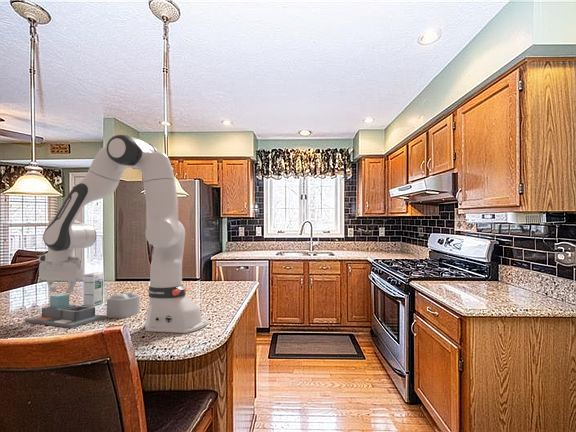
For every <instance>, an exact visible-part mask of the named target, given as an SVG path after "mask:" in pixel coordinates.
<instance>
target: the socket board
mask: <svg viewBox="0 0 576 432" xmlns="http://www.w3.org/2000/svg"><path fill="white" fill-rule="evenodd" d="M104 319H106V315H101V314H96V306H85V305H78V304H69V306H68V307H64V308H59V309H54V308H50V305H49V306H44V307H42V308H41V315H37V316H33V317H28V318H25V319H24V321H25V323H33V324H40V325H47V326H55V327H62V328H68V329H69V328H70V329H74V328H77V327H80V326H83V325H86V324H90V323H95V322H96V321H97V322H98V321H101V320H104Z"/></svg>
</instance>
